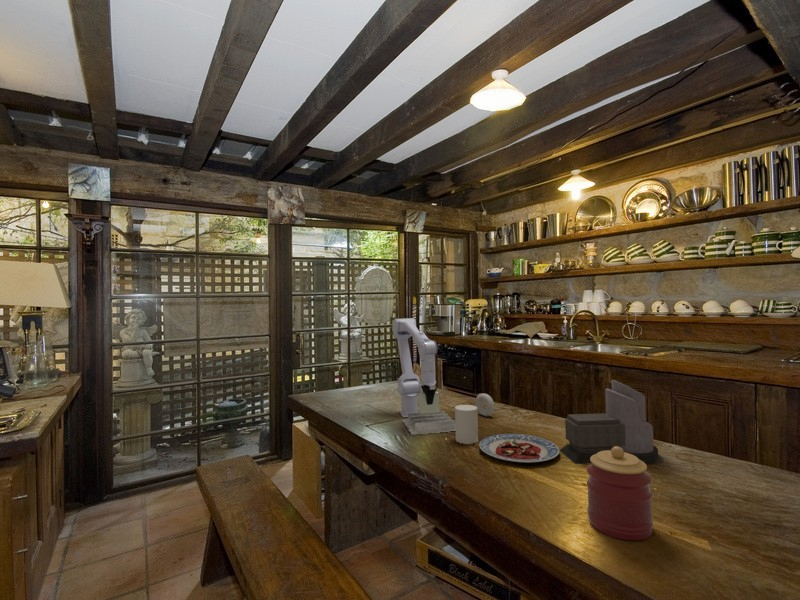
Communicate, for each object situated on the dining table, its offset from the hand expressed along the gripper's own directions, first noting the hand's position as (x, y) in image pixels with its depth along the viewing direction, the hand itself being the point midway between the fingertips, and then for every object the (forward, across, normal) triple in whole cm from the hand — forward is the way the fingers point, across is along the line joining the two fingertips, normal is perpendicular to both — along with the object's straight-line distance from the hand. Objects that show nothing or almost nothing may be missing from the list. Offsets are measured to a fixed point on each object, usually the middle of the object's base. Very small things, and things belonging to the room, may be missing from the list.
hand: (429, 403), depth 166 cm
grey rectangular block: (+4, 0, 0) cm, 4 cm away
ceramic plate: (+10, +34, +23) cm, 42 cm away
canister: (+10, +80, +25) cm, 84 cm away
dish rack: (+9, 0, 0) cm, 9 cm away
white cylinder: (+10, +19, +10) cm, 23 cm away
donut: (+10, -9, +27) cm, 30 cm away
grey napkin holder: (+10, +43, +51) cm, 67 cm away
